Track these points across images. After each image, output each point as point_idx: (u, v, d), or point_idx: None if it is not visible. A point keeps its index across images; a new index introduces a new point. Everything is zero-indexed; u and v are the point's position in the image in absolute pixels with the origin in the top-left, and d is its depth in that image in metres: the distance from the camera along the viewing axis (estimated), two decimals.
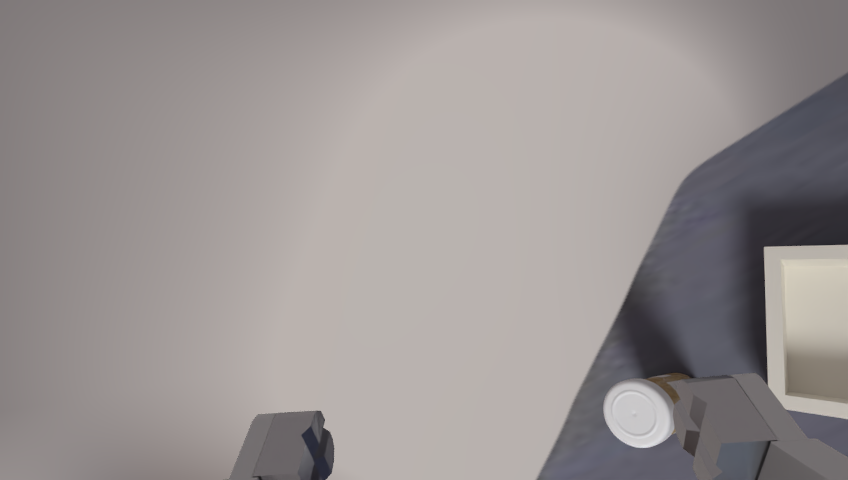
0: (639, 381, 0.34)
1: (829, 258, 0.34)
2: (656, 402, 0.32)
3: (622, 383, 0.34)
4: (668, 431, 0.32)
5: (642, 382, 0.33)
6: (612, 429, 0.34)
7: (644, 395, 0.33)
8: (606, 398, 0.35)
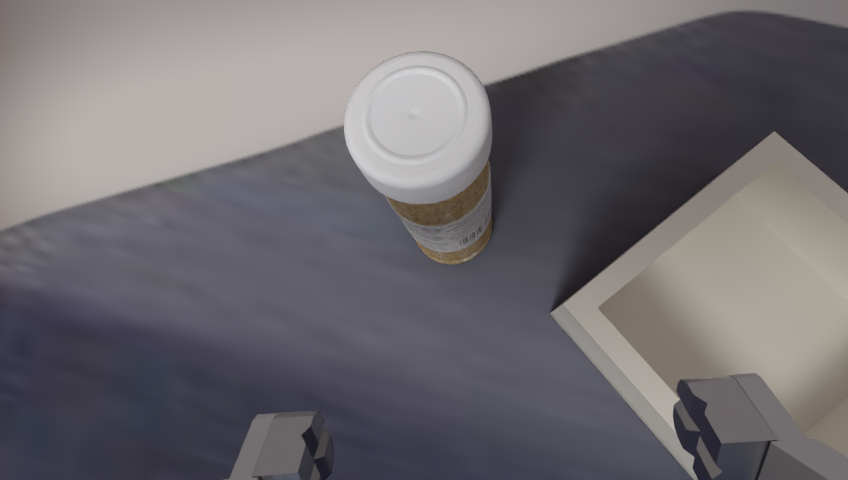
0: None
1: (830, 209, 0.20)
2: (472, 125, 0.14)
3: (446, 57, 0.14)
4: (438, 184, 0.14)
5: (480, 83, 0.14)
6: (350, 109, 0.14)
7: (463, 100, 0.14)
8: (393, 58, 0.15)
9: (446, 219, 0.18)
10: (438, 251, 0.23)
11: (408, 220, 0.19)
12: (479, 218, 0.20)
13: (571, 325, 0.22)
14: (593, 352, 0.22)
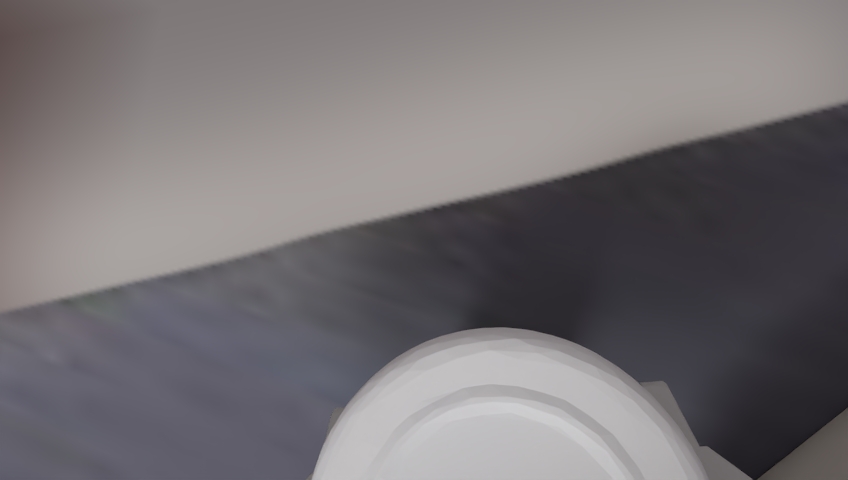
0: (678, 432, 0.05)
1: None
2: None
3: (593, 365, 0.05)
4: None
5: (693, 453, 0.05)
6: None
7: None
8: (443, 350, 0.05)
9: None
10: None
11: None
12: None
13: None
14: None
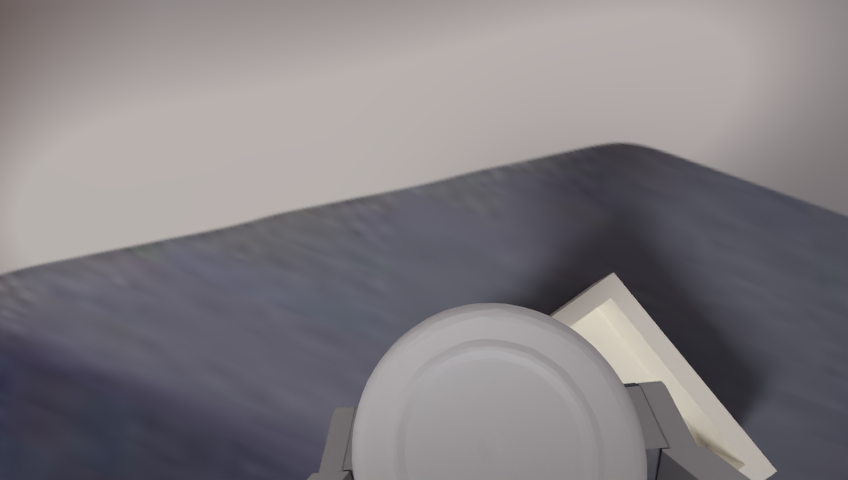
0: (612, 372, 0.07)
1: (646, 341, 0.25)
2: None
3: (553, 325, 0.08)
4: None
5: (622, 385, 0.07)
6: (364, 419, 0.08)
7: (593, 432, 0.07)
8: (449, 317, 0.08)
9: None
10: None
11: None
12: None
13: None
14: None
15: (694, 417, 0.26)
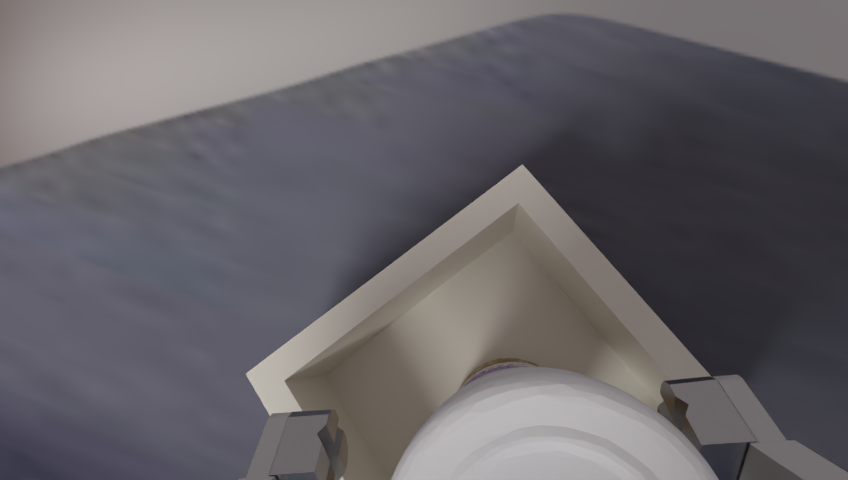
0: None
1: (574, 266, 0.16)
2: None
3: (632, 408, 0.06)
4: None
5: None
6: None
7: None
8: (498, 393, 0.06)
9: None
10: None
11: None
12: None
13: None
14: None
15: (658, 387, 0.16)
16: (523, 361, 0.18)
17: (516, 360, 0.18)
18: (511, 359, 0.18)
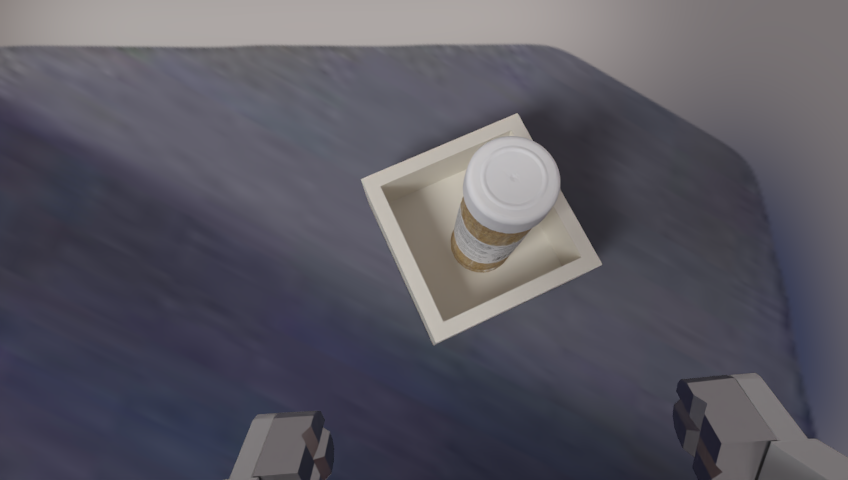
0: None
1: None
2: (548, 195, 0.22)
3: (541, 147, 0.23)
4: (518, 225, 0.22)
5: None
6: (474, 162, 0.22)
7: (546, 177, 0.22)
8: (507, 137, 0.23)
9: (500, 243, 0.26)
10: (473, 260, 0.31)
11: (473, 236, 0.27)
12: (515, 246, 0.28)
13: (369, 201, 0.34)
14: (379, 222, 0.34)
15: (556, 234, 0.33)
16: None
17: None
18: None
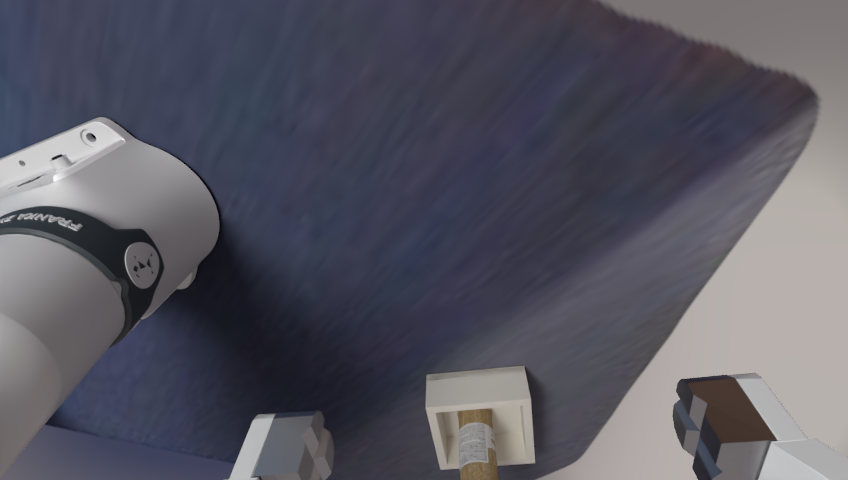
0: None
1: (503, 460, 0.59)
2: None
3: None
4: None
5: None
6: None
7: None
8: None
9: (461, 473, 0.53)
10: (463, 426, 0.57)
11: (469, 462, 0.53)
12: None
13: (519, 385, 0.55)
14: (505, 383, 0.56)
15: None
16: None
17: None
18: None
